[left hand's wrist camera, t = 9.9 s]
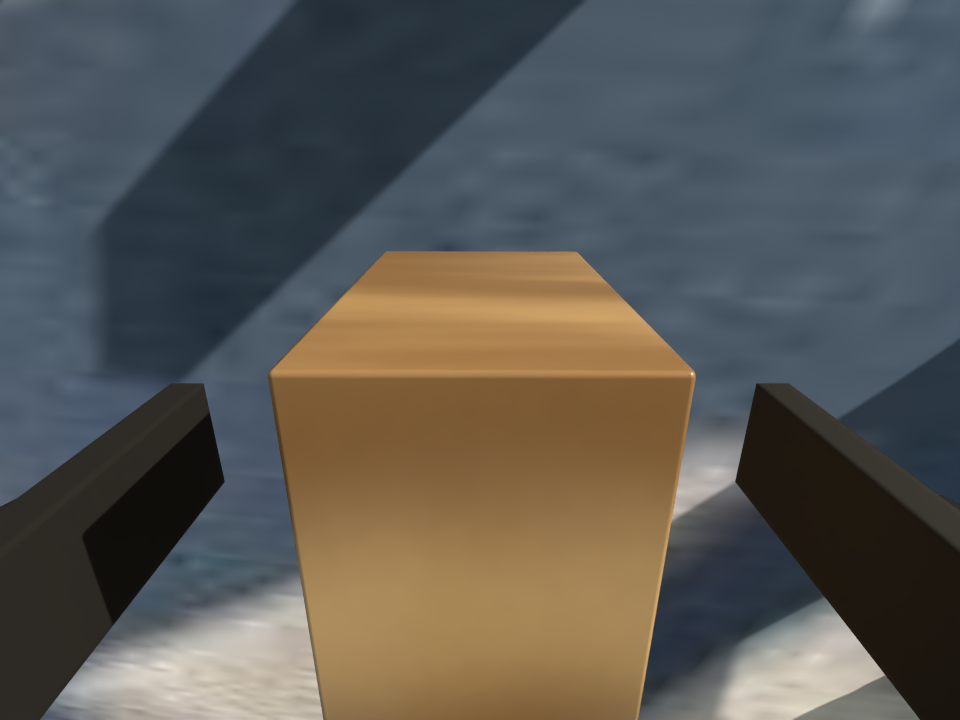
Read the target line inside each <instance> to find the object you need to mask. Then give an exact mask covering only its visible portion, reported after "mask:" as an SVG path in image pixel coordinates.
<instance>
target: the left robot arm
mask: <svg viewBox="0 0 960 720" xmlns="http://www.w3.org/2000/svg"><path fill="white" fill-rule="evenodd" d="M224 482H225V481H224V476H223V472H222V467H221V463H220V458H219V453H218V449H217V444H216V439H215V435H214V430H213V425H212V421H211V416H210V412H209V407H208V402H207V398H206V393H205V388H204V384H170V385H169V386H167V387H166V388H164V389H163V390H162V391H160V392H159V393H158V394H156V395H155V396H154V397H152V398H151V399H150V400H148V401H147V402H146V403H144V404H143V405H142V406H140V407H139V408H138V409H136V410H135V411H134V412H132V413H131V414H130V415H128V416H127V417H126V418H124V419H123V420H122V421H120V422H119V423H118V424H116V425H115V426H114V427H112V428H111V429H110V430H108V431H107V432H105V433H104V434H103V435H101V436H100V437H99V438H97V439H96V440H95V441H93V442H92V443H91V444H89V445H88V446H87V447H85V448H84V449H83V450H81V451H80V452H79V453H77V454H76V455H75V456H73V457H72V458H71V459H69V460H68V461H67V462H65V463H64V464H63V465H61V466H60V467H59V468H57V469H56V470H55V471H53V472H52V473H51V474H49V475H48V476H46V477H45V478H44V479H42V480H41V481H40V482H38V483H37V484H36V485H34V486H33V487H32V488H30V489H29V490H28V491H26V492H25V493H24V494H22V495H21V496H20V497H18V498H17V499H15V500H13V501H11V502H9V503H7V504H5V505H3V506H1V507H0V720H40V719H41V717H42V716H43V715H44V714H45V712H46V711H47V710H48V708H49V707H50V706H51V705H52V703H53V702H54V701H55V699H56V698H57V697H58V696H59V694H60V693H61V692H62V690H63V689H64V688H65V686H66V685H67V684H68V683H69V681H70V680H71V679H72V677H73V676H74V675H75V674H76V672H77V671H78V670H79V668H80V667H81V666H82V665H83V663H84V662H85V661H86V659H87V658H88V657H89V656H90V654H91V653H92V652H93V650H94V649H95V648H96V647H97V645H98V644H99V643H100V641H101V640H102V639H103V638H104V636H105V635H106V634H107V632H108V631H109V630H110V629H111V627H112V626H113V625H114V623H115V622H116V621H117V620H118V618H119V617H120V616H121V614H122V613H123V612H124V611H125V609H126V608H127V607H128V605H129V604H130V603H131V602H132V600H133V599H134V598H135V596H136V595H137V594H138V593H139V591H140V590H141V589H142V587H143V586H144V585H145V584H146V582H147V581H148V580H149V578H150V577H151V576H152V575H153V573H154V572H155V571H156V569H157V568H158V567H159V566H160V564H161V563H162V562H163V560H164V559H165V558H166V557H167V555H168V554H169V553H170V551H171V550H172V549H173V548H174V546H175V545H176V544H177V542H178V541H179V540H180V539H181V537H182V536H183V535H184V533H185V532H186V531H187V530H188V528H189V527H190V526H191V524H192V523H193V522H194V521H195V519H196V518H197V517H198V515H199V514H200V513H201V512H202V510H203V509H204V508H205V506H206V505H207V504H208V503H209V501H210V500H211V499H212V497H213V496H214V495H215V493H216V492H217V491H218V490H219V488H220V487H221V486H222V484H223V483H224ZM735 482H736V483H737V484H738V486H739V487H740V488H741V490H742V491H743V492H744V494H745V495H746V496H747V497H748V499H749V500H750V501H751V503H752V504H753V505H754V506H755V508H756V509H757V510H758V512H759V513H760V514H761V515H762V517H763V518H764V519H765V521H766V522H767V523H768V524H769V526H770V527H771V528H772V530H773V531H774V532H775V533H776V535H777V536H778V537H779V539H780V540H781V541H782V542H783V544H784V545H785V546H786V548H787V549H788V550H789V551H790V553H791V554H792V555H793V557H794V558H795V559H796V560H797V562H798V563H799V564H800V566H801V567H802V568H803V569H804V571H805V572H806V573H807V575H808V576H809V577H810V578H811V580H812V581H813V582H814V584H815V585H816V586H817V587H818V589H819V590H820V591H821V593H822V594H823V595H824V596H825V598H826V599H827V600H828V602H829V603H830V604H831V605H832V607H833V608H834V609H835V611H836V612H837V613H838V614H839V616H840V617H841V618H842V620H843V621H844V622H845V623H846V625H847V626H848V627H849V629H850V630H851V631H852V632H853V634H854V635H855V636H856V638H857V639H858V640H859V641H860V643H861V644H862V645H863V647H864V648H865V649H866V650H867V652H868V653H869V654H870V656H871V657H872V658H873V659H874V661H875V662H876V663H877V665H878V666H879V667H880V668H881V670H882V671H883V672H884V674H885V675H886V676H887V677H888V679H889V680H890V681H891V683H892V684H893V685H894V687H895V688H896V689H897V690H898V692H899V693H900V694H901V696H902V697H903V698H904V699H905V701H906V702H907V703H908V705H909V706H910V707H911V708H912V710H913V711H914V712H915V714H916V715H917V716H918V717H919V719H920V720H960V504H958V503H956V502H954V501H952V500H950V499H948V498H946V497H944V496H942V495H938V494H936V493H935V492H934V491H932V490H931V489H930V488H928V487H927V486H926V485H924V484H923V483H922V482H920V481H919V480H918V479H916V478H915V477H914V476H912V475H911V474H909V473H908V472H907V471H905V470H904V469H903V468H901V467H900V466H899V465H897V464H896V463H895V462H893V461H892V460H891V459H889V458H888V457H887V456H885V455H884V454H883V453H881V452H880V451H879V450H877V449H876V448H875V447H873V446H872V445H871V444H869V443H868V442H867V441H865V440H864V439H863V438H861V437H860V436H859V435H857V434H856V433H855V432H853V431H852V430H850V429H849V428H848V427H846V426H845V425H844V424H842V423H841V422H840V421H838V420H837V419H836V418H834V417H833V416H832V415H830V414H829V413H828V412H826V411H825V410H824V409H822V408H821V407H820V406H818V405H817V404H816V403H814V402H813V401H812V400H810V399H809V398H808V397H806V396H805V395H804V394H802V393H801V392H800V391H798V390H797V389H796V388H794V387H793V386H791V385H790V384H756V388H755V393H754V398H753V402H752V407H751V412H750V416H749V421H748V425H747V430H746V435H745V439H744V444H743V449H742V453H741V458H740V463H739V467H738V472H737V476H736V481H735Z"/></svg>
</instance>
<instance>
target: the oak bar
mask: <svg viewBox="0 0 960 720" xmlns="http://www.w3.org/2000/svg"><path fill="white" fill-rule="evenodd" d="M695 378H696V376H695V372H694V371H693V370H692V369H691V368H690V367H689V366H688V365H687V364H686V363H685V362H684V361H683V360H682V359H681V358H680V356H679V355H678V354H677V353H676V352H675V351H674V350H673V349H672V348H671V347H670V346H669V345H668V344H667V343H666V342H665V341H664V340H663V339H662V338H661V337H660V336H659V335H658V334H657V333H656V332H655V331H654V330H653V329H652V328H651V327H650V326H649V325H648V324H647V323H646V322H645V321H644V320H643V319H642V318H641V317H640V316H639V315H638V314H637V313H636V312H635V311H634V310H633V309H632V308H631V307H630V306H629V305H628V304H627V303H626V302H625V301H624V300H623V299H622V298H621V297H620V296H619V295H618V294H617V293H616V292H615V291H614V290H613V288H612V287H611V286H610V285H609V284H608V283H607V282H606V281H605V280H604V279H603V278H602V277H601V276H600V275H599V274H598V273H597V272H596V271H595V270H594V269H593V268H592V267H591V266H590V265H589V264H588V263H587V262H586V261H585V260H584V259H583V258H582V257H581V256H580V255H579V254H578V253H577V252H403V251H387V252H384V253H383V254H382V255H381V256H380V257H379V259H378V260H377V261H376V262H375V263H374V264H373V265H372V266H371V267H370V268H369V269H368V270H367V271H366V272H365V273H364V274H363V275H362V276H361V277H360V278H359V279H358V280H357V281H356V282H355V283H354V284H353V285H352V286H351V287H350V288H349V289H348V290H347V291H346V292H345V294H344V295H343V296H342V297H341V298H340V299H339V300H338V301H337V302H336V303H335V304H334V305H333V306H332V307H331V308H330V309H329V310H328V311H327V312H326V313H325V314H324V315H323V316H322V317H321V318H320V319H319V320H318V321H317V322H316V323H315V324H314V325H313V326H312V327H311V329H310V330H309V331H308V332H307V333H306V334H305V335H304V336H303V337H302V338H301V339H300V340H299V341H298V342H297V343H296V344H295V345H294V346H293V347H292V348H291V349H290V350H289V351H288V352H287V353H286V354H285V355H284V356H283V357H282V358H281V359H280V360H279V361H278V362H277V363H276V365H275V366H274V367H273V368H272V369H271V370H270V371H269V374H268V380H269V386H270V392H271V398H272V405H273V411H274V417H275V423H276V429H277V435H278V442H279V448H280V454H281V460H282V466H283V472H284V479H285V485H286V491H287V497H288V503H289V509H290V516H291V522H292V528H293V534H294V540H295V547H296V553H297V559H298V565H299V571H300V577H301V584H302V590H303V596H304V602H305V608H306V614H307V621H308V627H309V633H310V639H311V645H312V651H313V658H314V664H315V670H316V676H317V682H318V688H319V695H320V701H321V707H322V713H323V719H324V720H638V717H639V711H640V705H641V699H642V693H643V687H644V681H645V675H646V669H647V663H648V657H649V651H650V645H651V639H652V633H653V628H654V622H655V616H656V610H657V604H658V598H659V592H660V586H661V580H662V574H663V568H664V562H665V556H666V550H667V544H668V539H669V533H670V527H671V521H672V515H673V509H674V503H675V497H676V491H677V485H678V479H679V473H680V467H681V461H682V455H683V450H684V444H685V438H686V432H687V426H688V420H689V414H690V408H691V402H692V396H693V390H694V384H695Z"/></svg>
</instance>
